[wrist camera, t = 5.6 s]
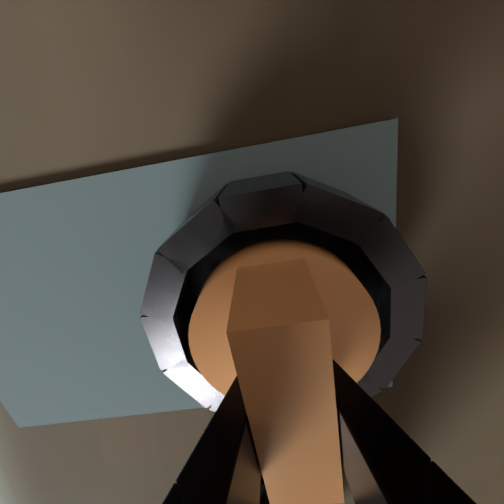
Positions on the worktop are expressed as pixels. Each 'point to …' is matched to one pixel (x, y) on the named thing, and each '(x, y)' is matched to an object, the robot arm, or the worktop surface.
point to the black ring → (283, 227)
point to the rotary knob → (287, 356)
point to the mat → (133, 267)
